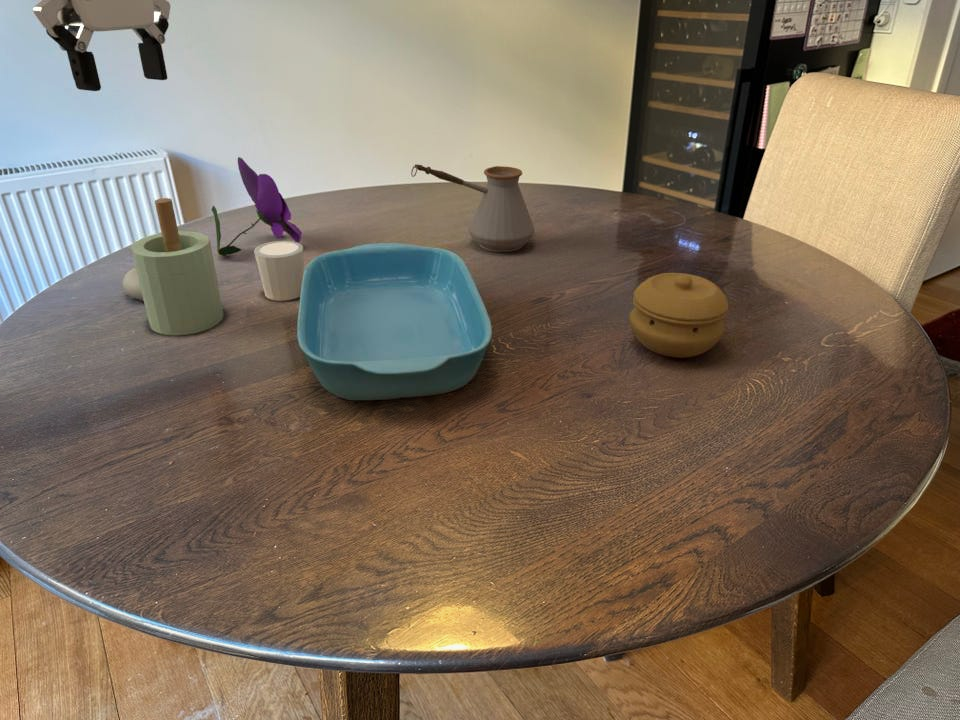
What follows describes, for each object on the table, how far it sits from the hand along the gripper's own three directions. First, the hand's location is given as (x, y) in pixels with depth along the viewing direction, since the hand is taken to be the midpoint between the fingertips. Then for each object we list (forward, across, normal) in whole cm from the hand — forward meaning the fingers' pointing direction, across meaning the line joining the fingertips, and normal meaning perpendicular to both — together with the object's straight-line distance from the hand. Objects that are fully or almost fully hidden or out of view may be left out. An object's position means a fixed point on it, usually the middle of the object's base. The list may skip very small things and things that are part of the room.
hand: (124, 84), depth 82 cm
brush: (+29, 0, +3) cm, 30 cm away
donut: (+30, -5, -7) cm, 32 cm away
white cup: (+30, -12, +9) cm, 34 cm away
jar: (+30, 0, +3) cm, 30 cm away
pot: (+30, -20, +65) cm, 74 cm away
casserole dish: (+30, -6, +32) cm, 44 cm away
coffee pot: (+30, -42, +27) cm, 58 cm away
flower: (+30, -24, -6) cm, 39 cm away
